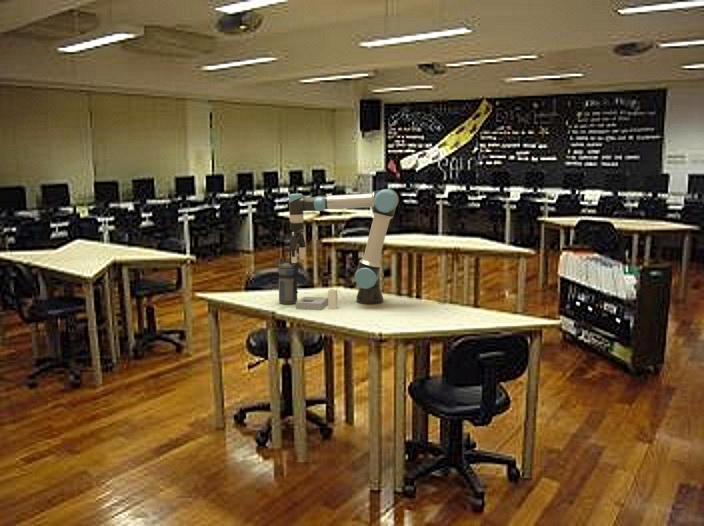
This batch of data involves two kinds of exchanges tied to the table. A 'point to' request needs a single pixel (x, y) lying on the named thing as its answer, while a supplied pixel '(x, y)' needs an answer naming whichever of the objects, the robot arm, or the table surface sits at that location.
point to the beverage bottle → (288, 281)
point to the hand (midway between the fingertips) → (298, 261)
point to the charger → (332, 299)
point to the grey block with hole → (312, 303)
